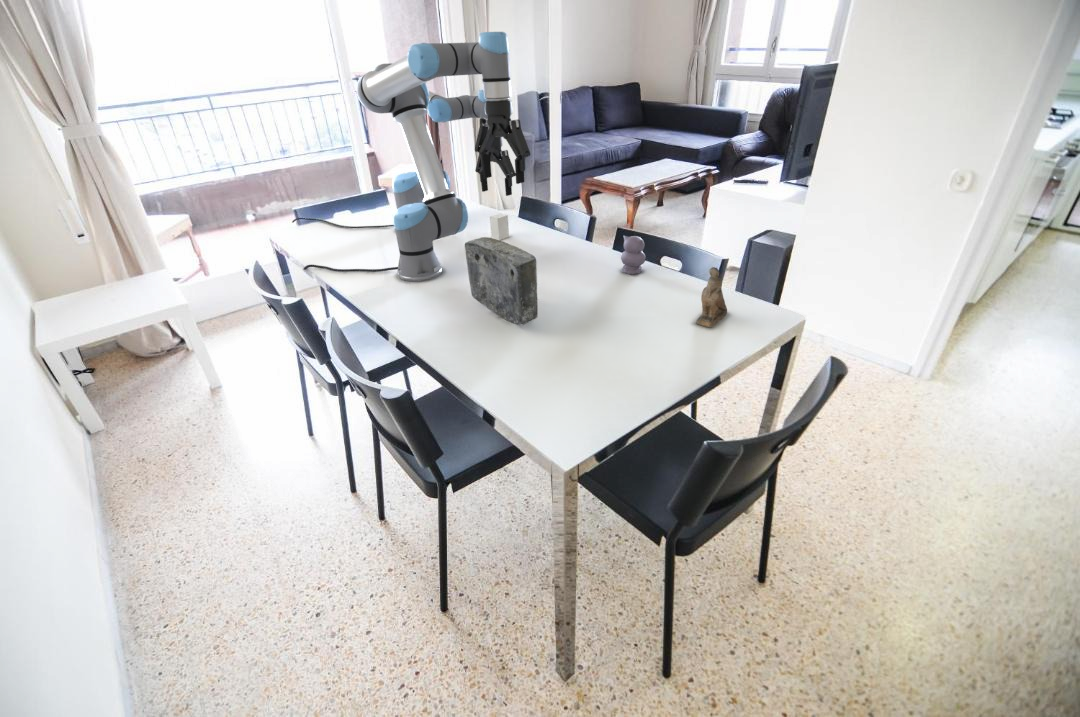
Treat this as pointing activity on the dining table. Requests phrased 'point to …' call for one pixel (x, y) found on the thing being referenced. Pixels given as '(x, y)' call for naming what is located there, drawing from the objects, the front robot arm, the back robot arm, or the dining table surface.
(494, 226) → the white rectangular block
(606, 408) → the dining table surface
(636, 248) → the cat figurine
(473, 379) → the dining table surface
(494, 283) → the concrete block
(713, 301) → the brown carved statuette
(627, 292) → the dining table surface
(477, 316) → the dining table surface
